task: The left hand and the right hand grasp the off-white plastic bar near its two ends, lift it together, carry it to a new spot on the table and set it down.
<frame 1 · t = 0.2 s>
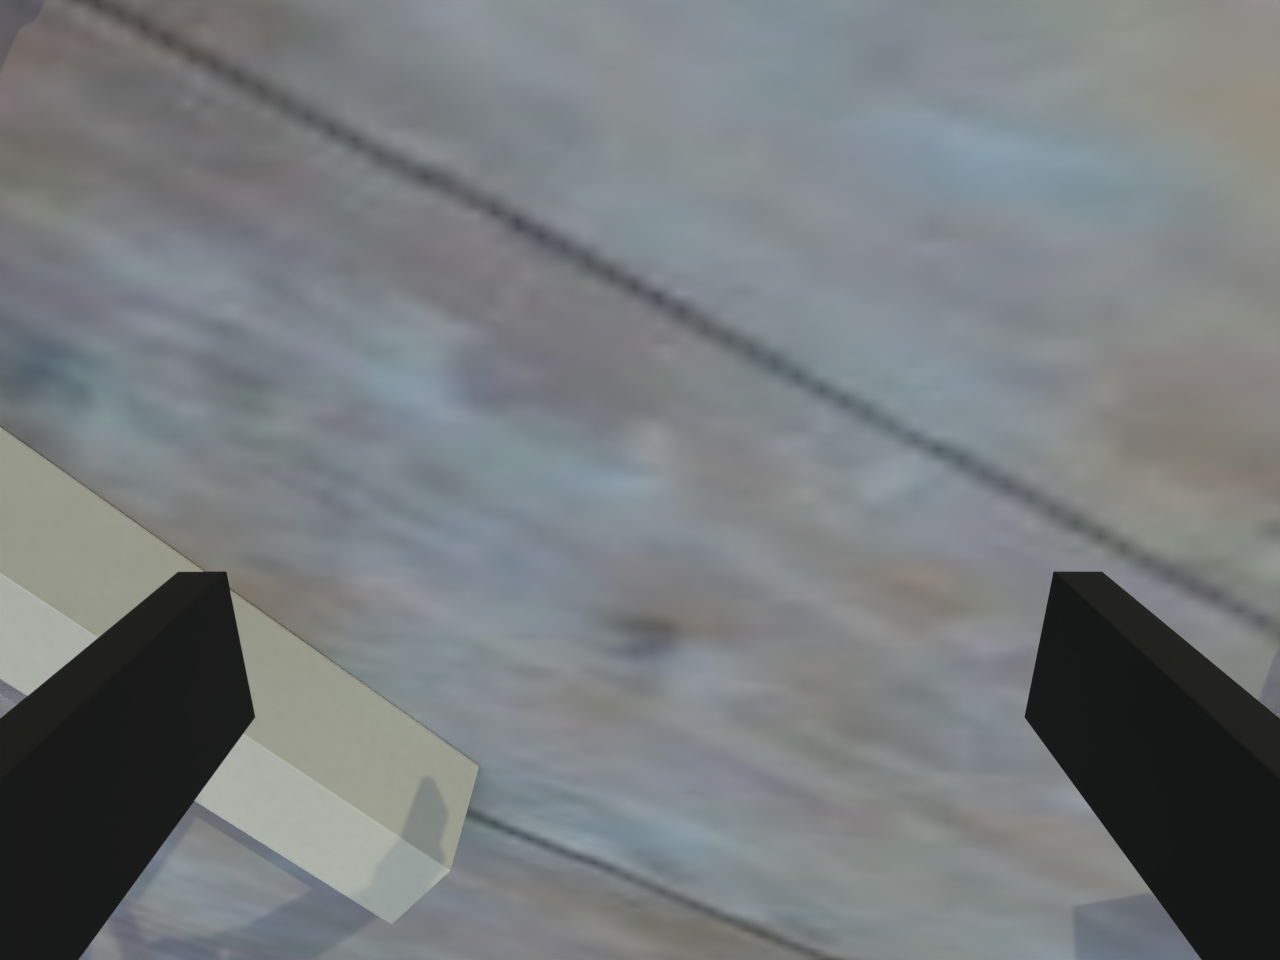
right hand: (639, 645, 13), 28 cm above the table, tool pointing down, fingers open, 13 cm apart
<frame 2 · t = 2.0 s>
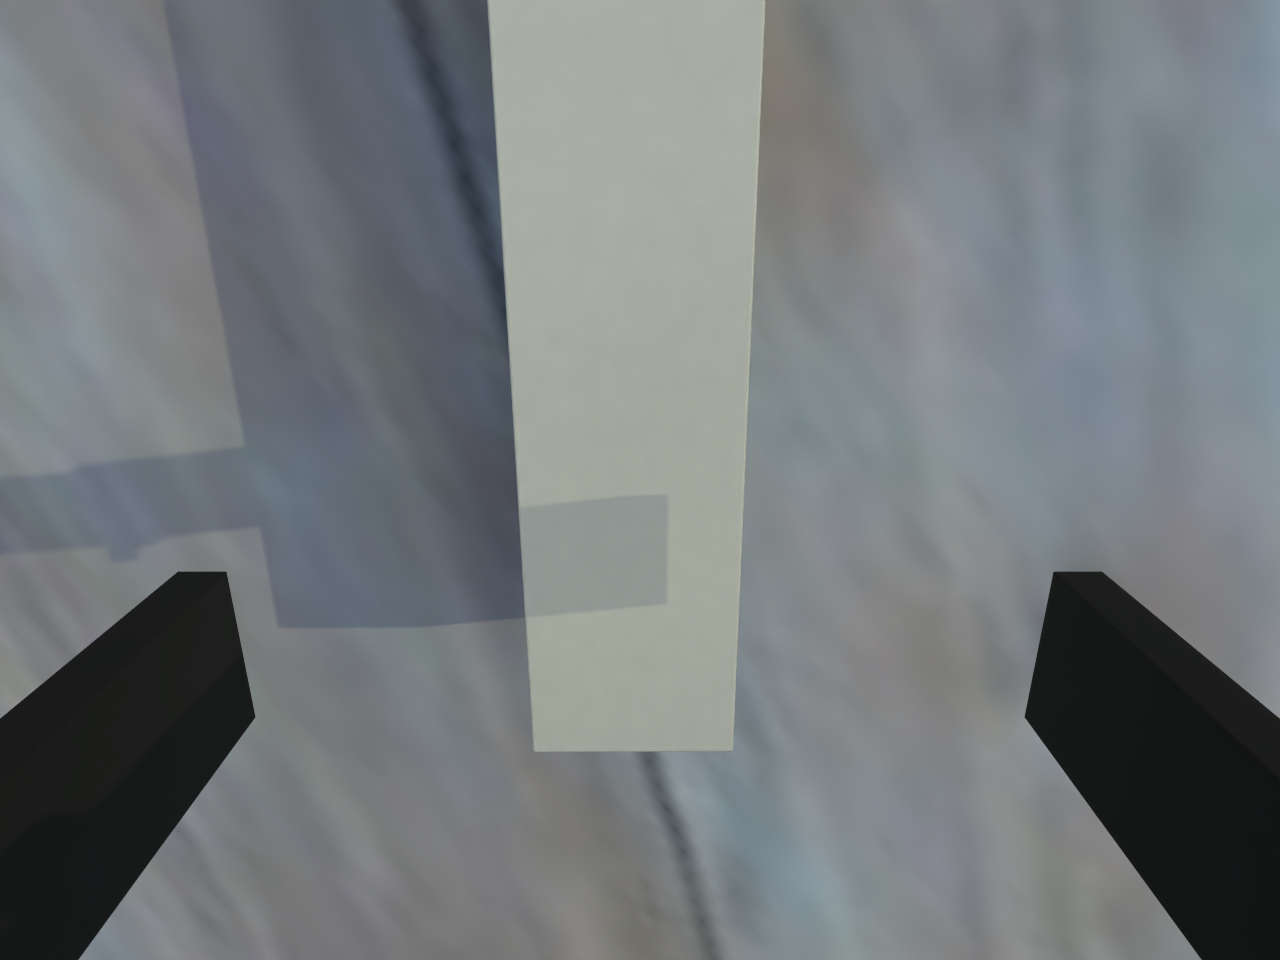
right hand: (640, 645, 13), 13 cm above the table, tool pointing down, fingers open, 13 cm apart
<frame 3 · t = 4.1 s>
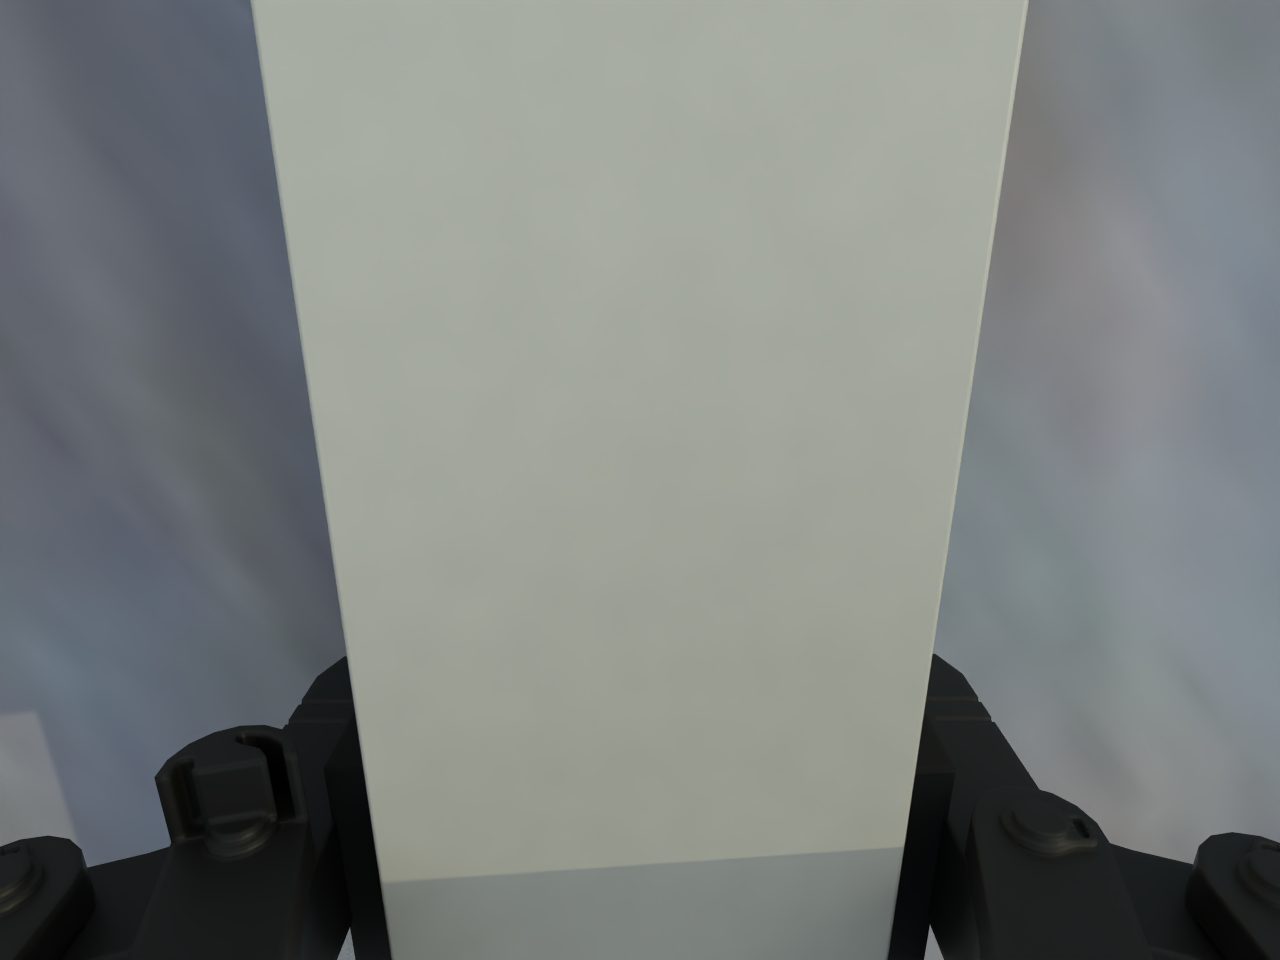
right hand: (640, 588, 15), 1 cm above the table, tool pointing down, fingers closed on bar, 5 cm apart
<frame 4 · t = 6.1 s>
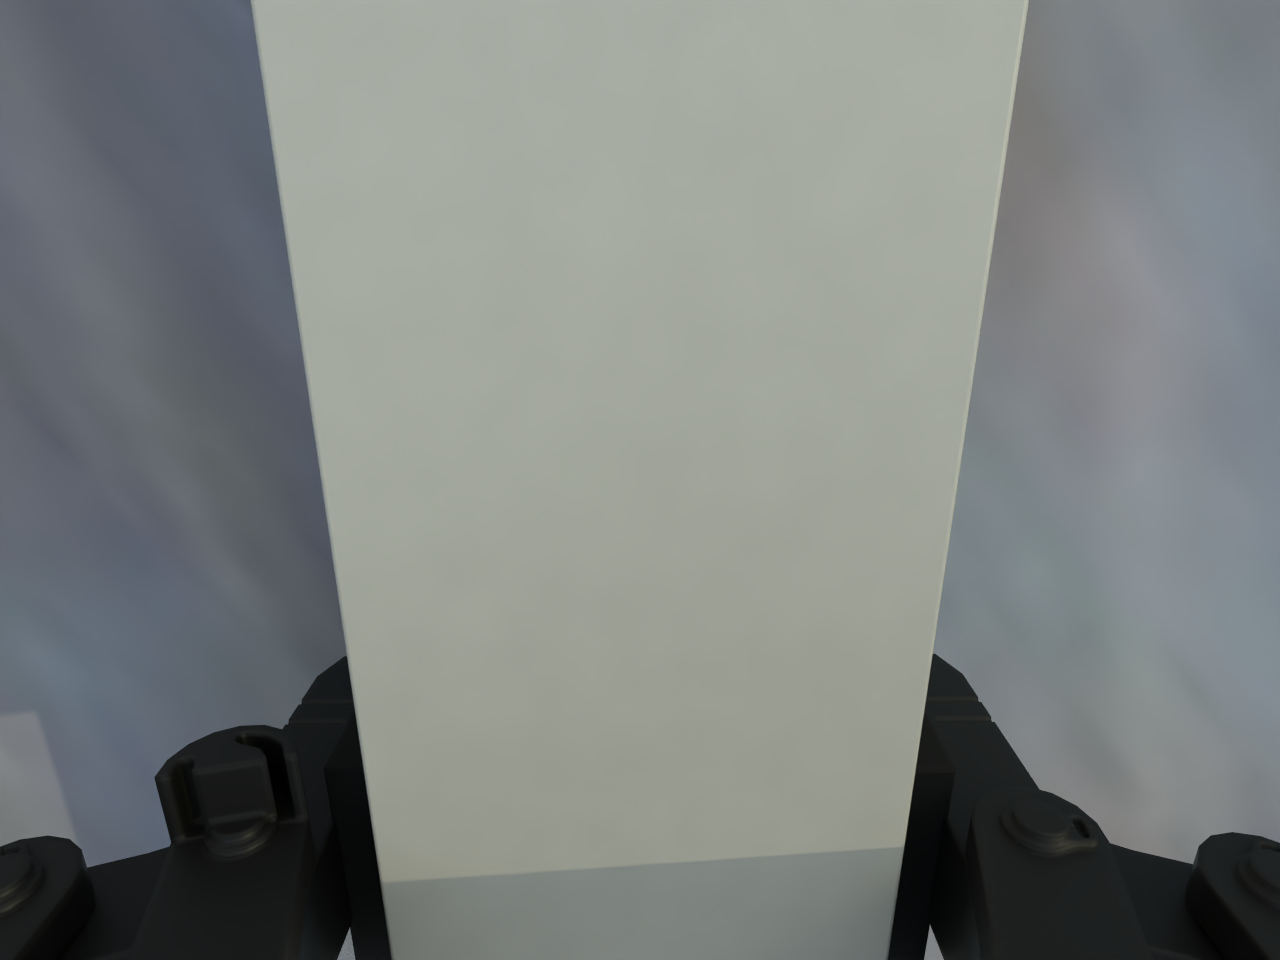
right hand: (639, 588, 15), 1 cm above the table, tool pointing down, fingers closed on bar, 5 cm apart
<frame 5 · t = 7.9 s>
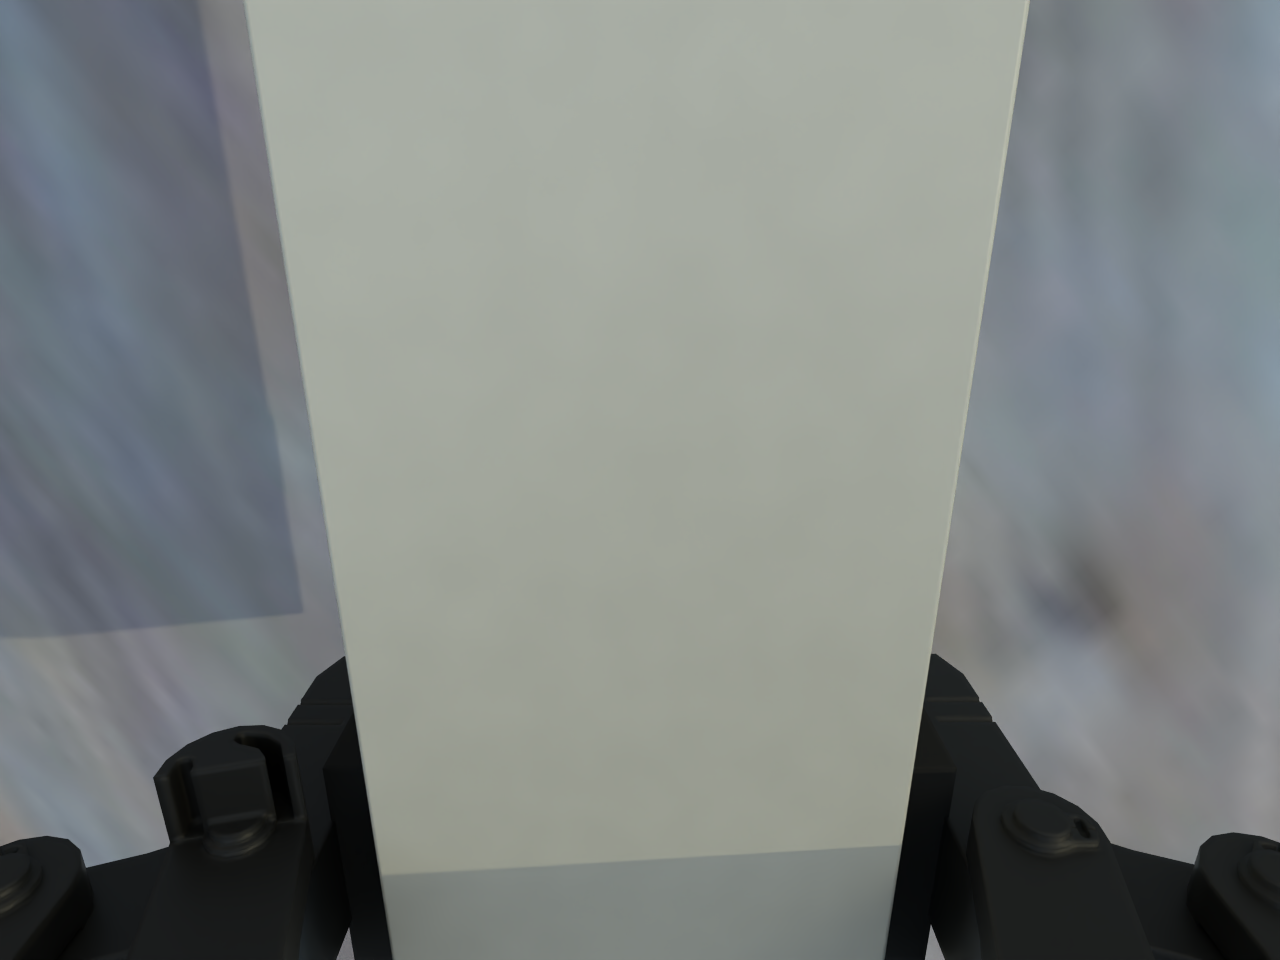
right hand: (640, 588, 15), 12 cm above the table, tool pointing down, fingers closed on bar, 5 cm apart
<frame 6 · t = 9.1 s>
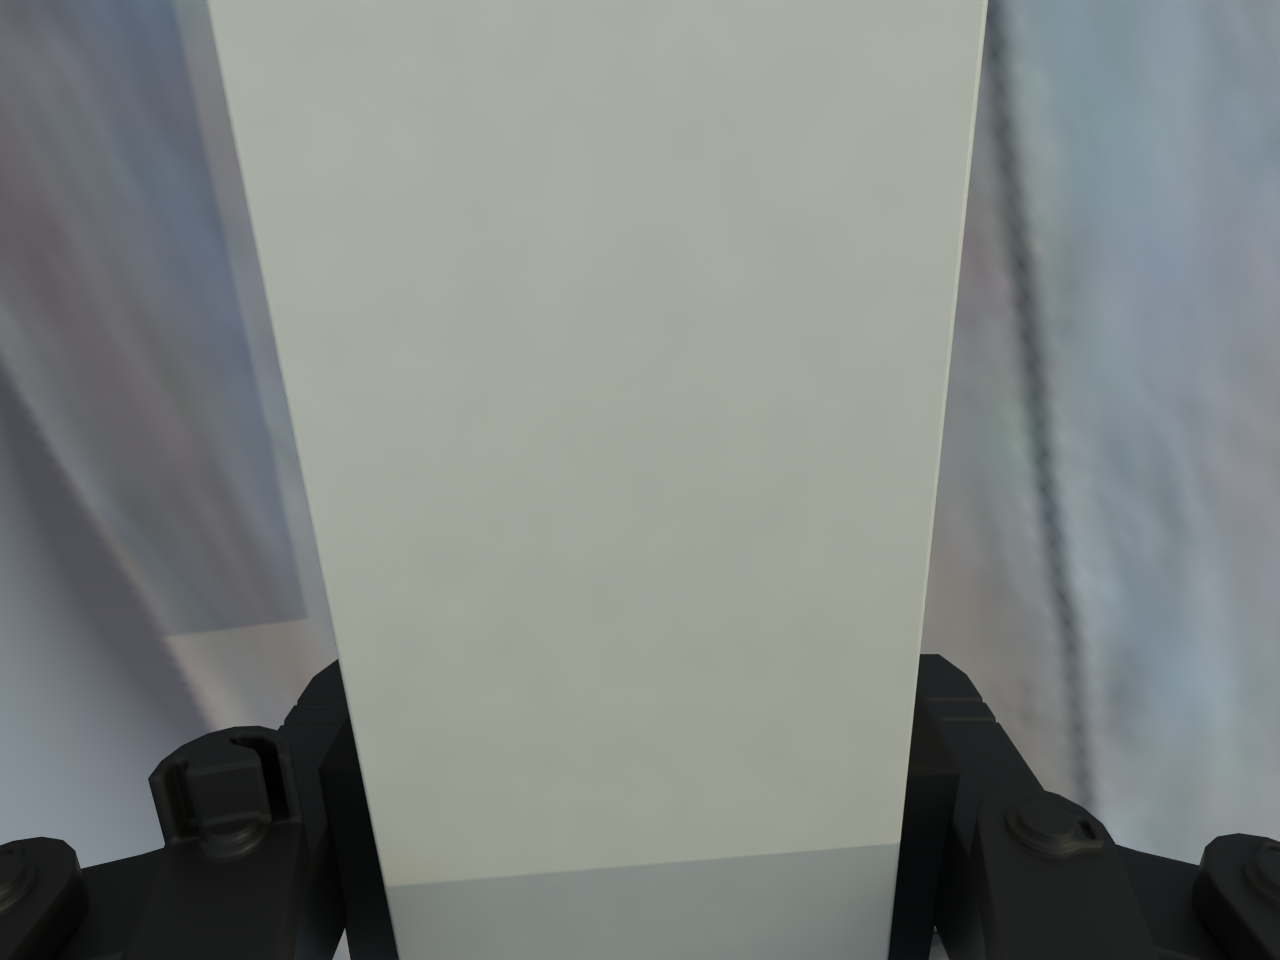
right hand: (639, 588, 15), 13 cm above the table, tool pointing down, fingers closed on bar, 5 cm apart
when the right hand's fingers open (2 cm above the table, at t = 11.8 s): bar drops 1 cm, on the table.
when the left hand's fingers open (4 cm above the table, at t = 12.0 s): bar stays where it is, on the table.
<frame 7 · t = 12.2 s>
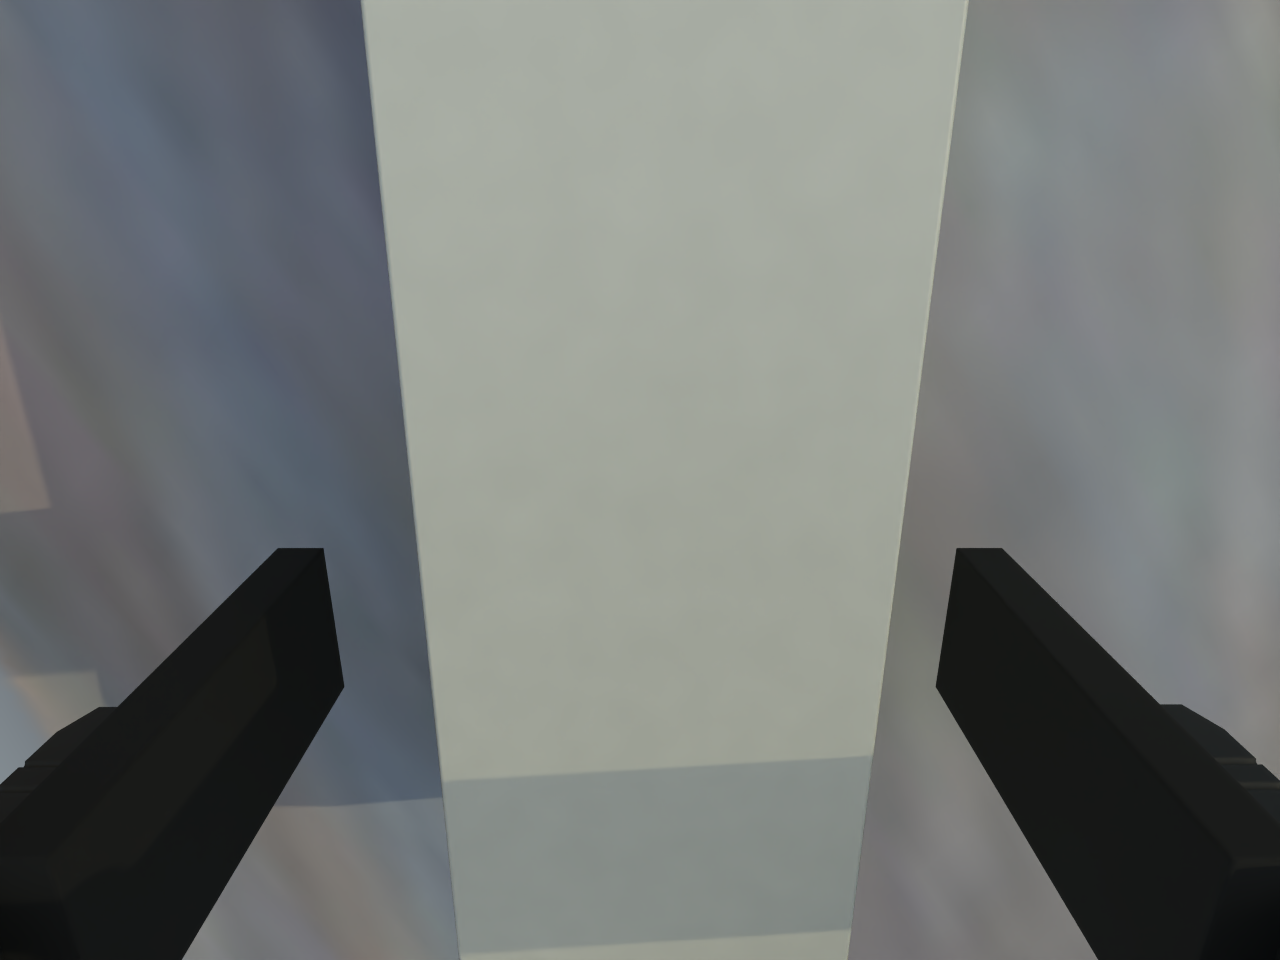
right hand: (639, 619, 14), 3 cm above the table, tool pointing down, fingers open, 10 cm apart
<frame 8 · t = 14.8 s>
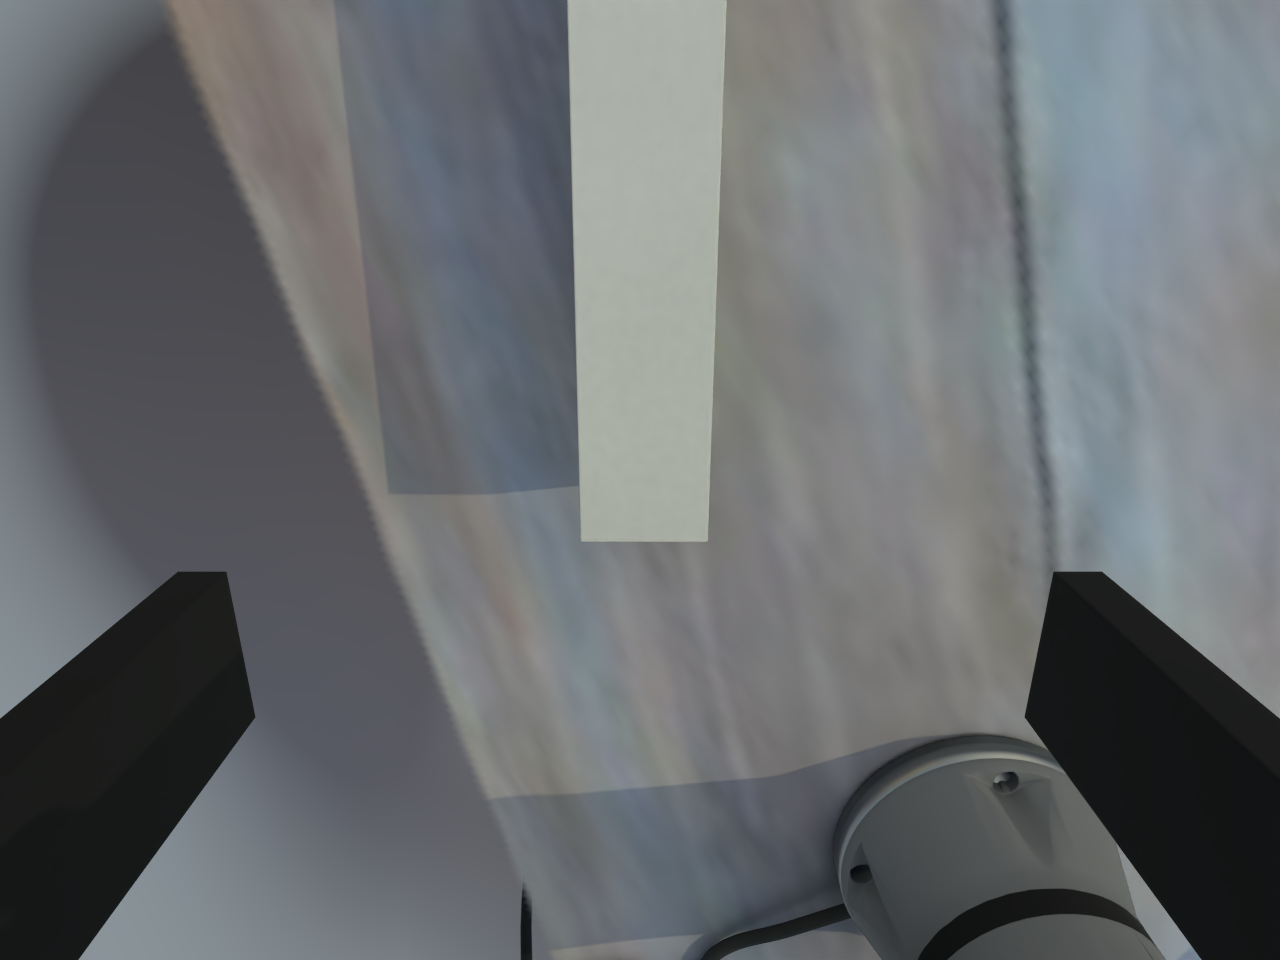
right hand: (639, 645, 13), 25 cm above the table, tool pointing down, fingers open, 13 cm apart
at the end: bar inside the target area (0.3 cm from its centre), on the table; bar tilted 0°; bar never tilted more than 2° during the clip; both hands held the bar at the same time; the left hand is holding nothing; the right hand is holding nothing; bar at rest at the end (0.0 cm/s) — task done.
